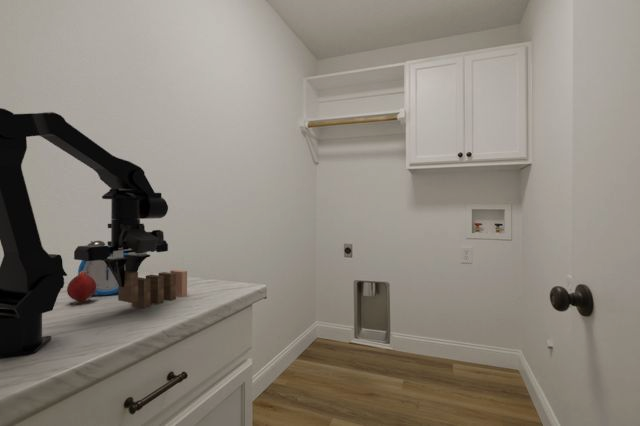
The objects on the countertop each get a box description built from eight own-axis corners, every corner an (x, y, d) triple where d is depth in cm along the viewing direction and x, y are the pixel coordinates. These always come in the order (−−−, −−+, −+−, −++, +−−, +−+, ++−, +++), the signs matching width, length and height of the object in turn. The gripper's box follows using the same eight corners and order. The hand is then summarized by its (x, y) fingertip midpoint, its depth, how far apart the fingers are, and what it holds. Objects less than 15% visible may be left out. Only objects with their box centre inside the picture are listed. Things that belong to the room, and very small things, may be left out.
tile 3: (157, 304, 77) (158, 277, 77) (145, 302, 79) (145, 275, 79) (163, 302, 79) (163, 276, 78) (151, 300, 80) (151, 274, 80)
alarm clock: (77, 298, 82) (77, 242, 82) (85, 292, 88) (86, 240, 88) (133, 294, 86) (133, 240, 86) (138, 288, 92) (138, 238, 92)
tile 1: (131, 302, 70) (131, 273, 70) (118, 300, 72) (118, 271, 72) (137, 301, 71) (138, 271, 71) (125, 298, 73) (125, 270, 73)
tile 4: (170, 300, 80) (170, 274, 80) (158, 298, 82) (158, 273, 82) (175, 298, 82) (175, 273, 82) (163, 296, 84) (163, 272, 84)
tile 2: (144, 308, 74) (144, 280, 74) (131, 306, 76) (131, 278, 76) (150, 306, 75) (150, 279, 75) (137, 304, 77) (137, 277, 77)
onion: (80, 306, 75) (80, 274, 75) (60, 305, 76) (60, 272, 76) (101, 300, 80) (101, 269, 80) (83, 298, 82) (83, 268, 82)
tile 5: (182, 296, 84) (182, 272, 84) (170, 294, 86) (170, 270, 86) (186, 295, 85) (187, 271, 85) (175, 293, 87) (175, 269, 87)
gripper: (105, 221, 60) (105, 300, 60) (183, 219, 77) (183, 281, 77) (72, 220, 65) (72, 294, 65) (153, 218, 82) (152, 277, 82)
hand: (125, 285), depth 72 cm, fingers closed on tile 1, 2 cm apart
